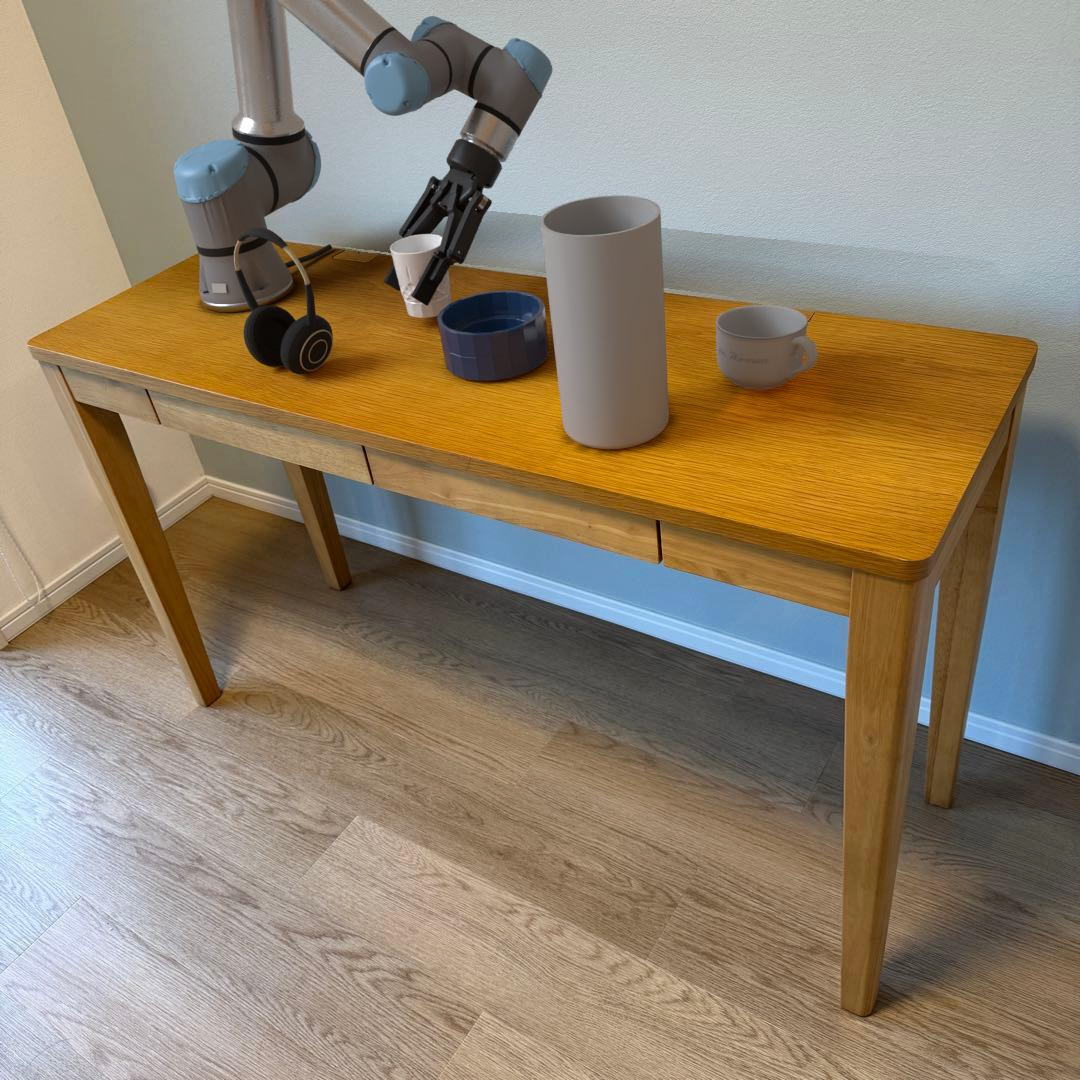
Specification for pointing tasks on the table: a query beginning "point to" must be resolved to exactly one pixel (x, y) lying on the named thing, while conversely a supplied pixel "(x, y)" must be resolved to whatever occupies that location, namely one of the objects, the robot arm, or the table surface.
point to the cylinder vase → (608, 318)
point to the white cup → (419, 273)
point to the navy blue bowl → (494, 335)
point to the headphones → (284, 323)
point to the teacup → (763, 345)
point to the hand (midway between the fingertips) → (405, 293)
